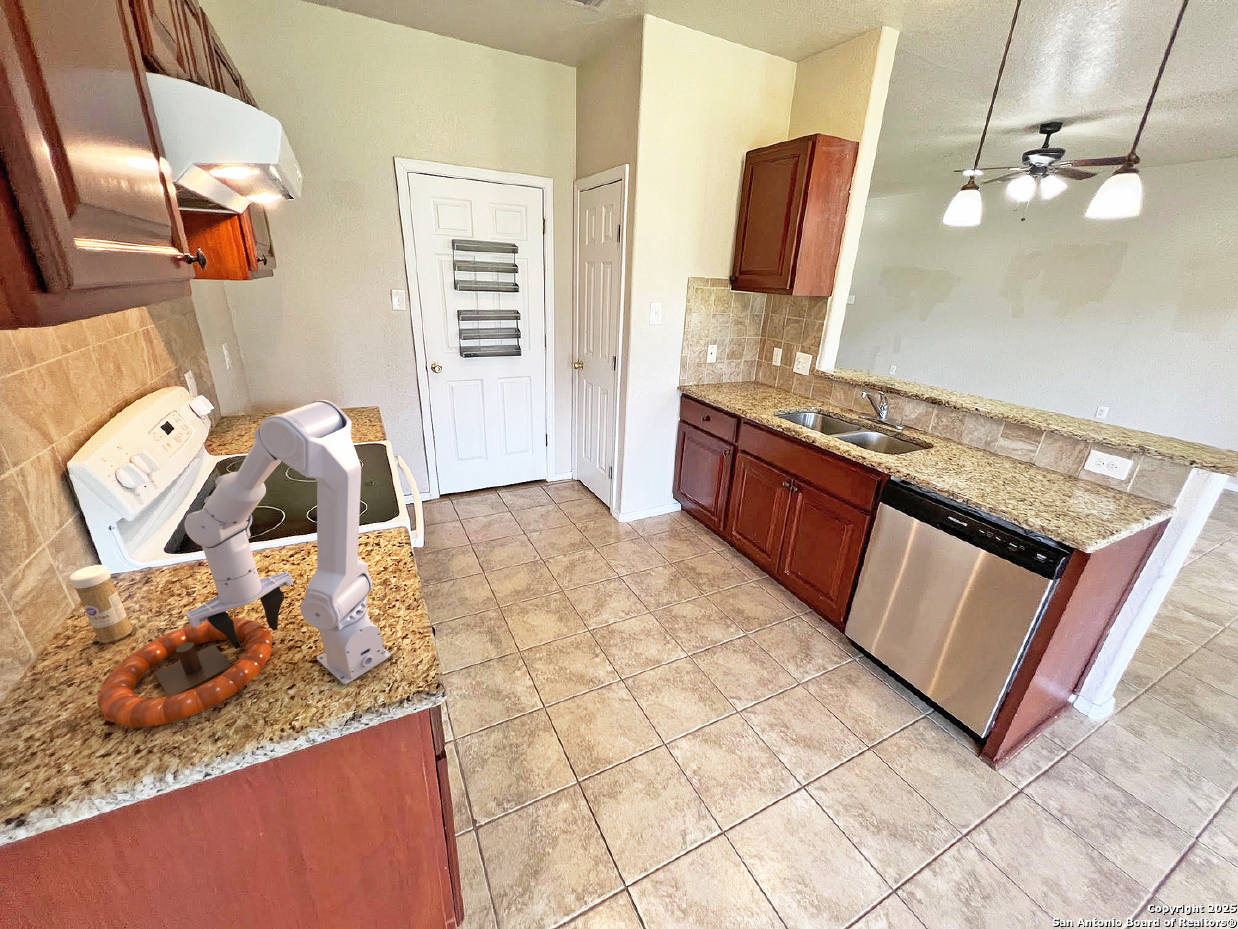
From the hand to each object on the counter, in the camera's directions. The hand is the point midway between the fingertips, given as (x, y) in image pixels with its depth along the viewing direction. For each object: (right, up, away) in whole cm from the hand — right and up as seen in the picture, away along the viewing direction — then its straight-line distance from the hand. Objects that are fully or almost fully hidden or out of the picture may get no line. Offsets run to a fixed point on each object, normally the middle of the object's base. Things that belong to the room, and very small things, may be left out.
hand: (255, 636), depth 85 cm
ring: (-5, -2, -7) cm, 9 cm away
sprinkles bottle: (-26, -1, +2) cm, 26 cm away
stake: (-5, -4, -6) cm, 9 cm away
